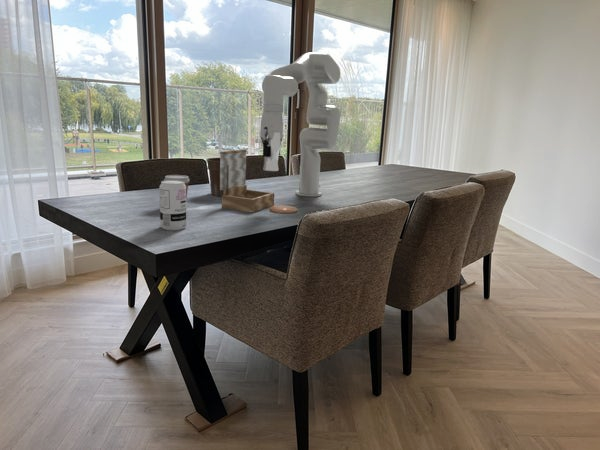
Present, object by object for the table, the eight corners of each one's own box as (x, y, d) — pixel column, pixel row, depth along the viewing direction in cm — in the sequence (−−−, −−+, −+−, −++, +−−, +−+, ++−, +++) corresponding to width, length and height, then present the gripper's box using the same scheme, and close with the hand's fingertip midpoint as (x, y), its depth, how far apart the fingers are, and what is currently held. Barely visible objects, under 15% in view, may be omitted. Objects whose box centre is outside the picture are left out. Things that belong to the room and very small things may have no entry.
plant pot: (199, 195, 201) (199, 159, 197) (216, 190, 216) (216, 156, 212) (232, 199, 196) (233, 162, 192) (247, 193, 211) (248, 159, 207)
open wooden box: (243, 200, 195) (244, 149, 190) (274, 204, 189) (276, 152, 184) (219, 207, 179) (219, 151, 174) (252, 212, 173) (253, 155, 168)
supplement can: (163, 224, 149) (162, 179, 146) (188, 224, 150) (188, 180, 146) (157, 230, 142) (156, 183, 138) (184, 231, 142) (184, 184, 139)
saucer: (277, 206, 187) (277, 204, 187) (301, 209, 183) (301, 207, 183) (264, 210, 177) (264, 208, 177) (289, 214, 173) (290, 212, 173)
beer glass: (276, 172, 174) (278, 132, 170) (259, 170, 176) (260, 131, 172) (281, 169, 181) (283, 131, 177) (265, 168, 182) (266, 130, 178)
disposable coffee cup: (194, 206, 178) (194, 176, 175) (178, 210, 169) (178, 179, 166) (175, 203, 182) (175, 173, 179) (159, 207, 173) (158, 176, 170)
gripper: (275, 109, 181) (274, 153, 186) (252, 108, 166) (251, 156, 171) (292, 110, 178) (290, 155, 183) (270, 109, 163) (268, 158, 167)
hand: (271, 155), depth 177 cm, fingers closed on beer glass, 6 cm apart
